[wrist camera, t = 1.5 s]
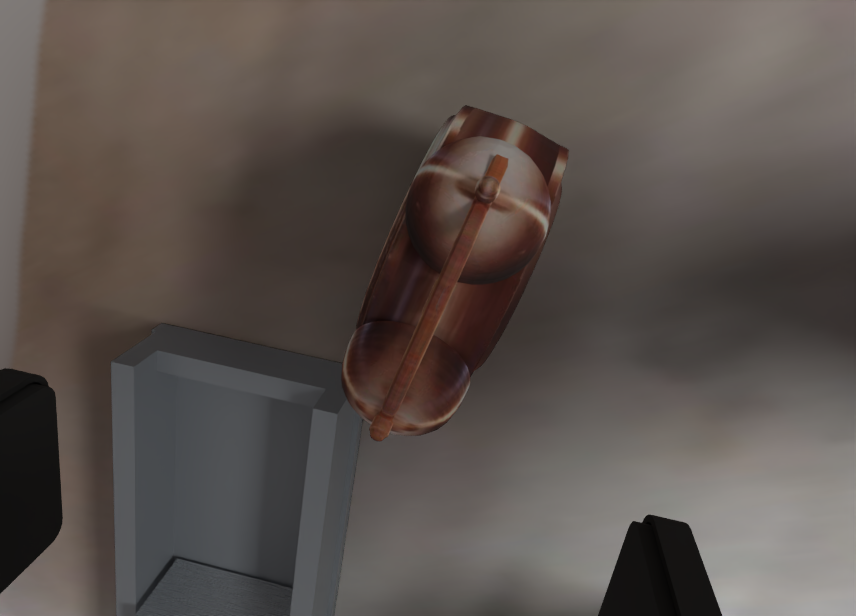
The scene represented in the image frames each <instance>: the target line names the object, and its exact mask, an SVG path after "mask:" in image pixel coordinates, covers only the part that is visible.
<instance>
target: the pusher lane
mask: <svg viewBox="0 0 856 616" xmlns="http://www.w3.org/2000/svg"><path fill="white" fill-rule="evenodd" d="M341 373H342V363H338V362H333V361H329V360H324V359H320V358H315V357H311V356H306V355H302V354H297V353H293V352H289V351H284V350H280V349H275V348H271V347H266V346H262V345H257V344H253V343H248V342H244V341H239V340H235V339H231V338H226V337H222V336H217V335H213V334H208V333H204V332H199V331H195V330H190V329H186V328H181V327H177V326H173V325H168V324H164V323H161V324H160V325H158V326H157V327H155V328H154V329H152V335H150V336H149V337H147V338H146V339H144V340H143V341H141V342H140V343H138V344H137V345H135V346H134V347H132V348H131V349H129V350H128V351H126V352H125V353H123V354H122V355H120V356H119V357H117V358H116V359H114V360H113V361H111V390H112V436H113V482H114V528H115V574H116V616H135V614H136V613H137V612H138V610H139V609H140V608H141V606H142V605H143V604H144V602H145V601H146V600H147V598H148V597H149V596H150V594H151V593H152V592H153V590H154V589H155V588H156V586H157V585H158V584H159V582H160V581H161V580H162V578H163V577H164V576H165V574H166V573H167V572H168V570H169V569H170V568H171V566H172V565H173V564H174V562H175V561H176V559H177V558H178V559H182V560H186V561H190V562H194V563H198V564H202V565H205V566H209V567H213V568H217V569H221V570H225V571H229V572H232V573H236V574H240V575H244V576H248V577H252V578H255V579H259V580H263V581H267V582H271V583H275V584H279V585H282V586H286V587H290V588H293V592H292V601H291V610H290V616H334V613H335V606H336V600H337V593H338V586H339V579H340V572H341V565H342V558H343V551H344V545H345V538H346V531H347V524H348V517H349V510H350V503H351V497H352V490H353V483H354V476H355V469H356V462H357V455H358V449H359V442H360V435H361V428H362V421H363V418H361V417H360V416H359V414H358V413H357V412H356V411H355V410H354V409H353V408H352V407H351V405H350V404H349V402H348V400H347V398H346V396H345V393H344V391H343V388H342V382H341Z"/></svg>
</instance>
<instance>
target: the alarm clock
mask: <svg viewBox="0 0 856 616" xmlns="http://www.w3.org/2000/svg"><path fill="white" fill-rule="evenodd" d="M568 153H569V150H568V149H567V148H565V147H563V146H560V145H558V144H556V143H555V142H553V141H551V140H550V139H548V138H546V137H545V136H543V135H541V134H540V133H538V132H536V131H535V130H533V129H531V128H530V127H528V126H526V125H523V124H521V123H519V122H516V121H514V120H511V119H508V118H505V117H502V116H499V115H496V114H493V113H489V112H486V111H483V110H480V109H477V108H474V107H470V106H467V105H465V106H464V107H462V109H461V110H460V111H459V112H458V114H457V115H453V116H451V117H450V118H448V119H447V121H446V122H445V123H444V125H443V126H442V127H441V129H440V131H439V132H438V134H437V136H436V137H435V139H434V141H433V142H432V144H431V146H430V148H429V150H428V152H427V154H426V155H425V157H424V159H423V161H422V163H421V165H420V167H419V169H418V171H417V173H416V175H415V177H414V179H413V181H412V183H411V186H410V188H409V190H408V192H407V194H406V196H405V198H404V201H403V203H402V205H401V207H400V209H399V212H398V214H397V216H396V219H395V221H394V223H393V225H392V228H391V230H390V232H389V235H388V237H387V240H386V242H385V244H384V247H383V249H382V252H381V254H380V257H379V259H378V261H377V264H376V267H375V269H374V272H373V275H372V277H371V280H370V283H369V285H368V288H367V291H366V294H365V297H364V300H363V303H362V306H361V310H360V313H359V317H358V321H357V325H356V331H355V332H354V333H353V335H352V337H351V339H350V341H349V344H348V346H347V349H346V352H345V356H344V360H343V364H342V373H341V382H342V388H343V391H344V393H345V396H346V398H347V400H348V402H349V404H350V405H351V407H352V408H353V409H354V410H355V411H356V412H357V413H358V414H359V416H360V417H361V418H363V419H364V420H365V421H366V422H368V423H369V424H371V426H370V428H369V430H370V436H371V438H372V439H374V440H376V441H382V440H383V439H384V438H386V437H388V435H389V433H392V434H396V435H403V436H417V435H423V434H426V433H429V432H432V431H435V430H437V429H439V428H440V427H441V426H443V425H444V424H445V423H447V421H448V420H449V419H450V418H451V417H452V415H453V414H454V413H455V412H456V410H457V409H458V408H459V406H460V405H461V403H462V401H463V399H464V397H465V395H466V393H467V390H468V388H469V386H470V377H471V375H472V373H473V372H474V371H475V370H476V369H478V368H479V367H480V366H481V365H482V364H483V363H484V362H485V361H486V359H487V358H488V356H489V355H490V354H491V352H492V350H493V349H494V347H495V345H496V344H497V342H498V340H499V338H500V337H501V335H502V333H503V331H504V330H505V328H506V326H507V324H508V322H509V320H510V318H511V316H512V314H513V312H514V310H515V308H516V306H517V304H518V302H519V300H520V298H521V296H522V294H523V292H524V290H525V288H526V285H527V283H528V281H529V279H530V277H531V275H532V272H533V270H534V268H535V266H536V263H537V261H538V259H539V257H540V254H541V252H542V249H543V247H544V244H545V242H546V239H547V237H548V234H549V232H550V229H551V227H552V224H553V221H554V218H555V215H556V212H557V209H558V206H559V202H560V198H561V192H562V186H561V181H562V178H563V174H564V171H565V168H566V164H567V160H568Z"/></svg>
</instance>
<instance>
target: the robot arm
mask: <svg viewBox="0 0 856 616" xmlns="http://www.w3.org/2000/svg"><path fill="white" fill-rule="evenodd" d="M62 519H63V517H62V500H61V482H60V465H59V448H58V431H57V413H56V397H55V392H54V390H53V389H52V388H50V387H49V386H48V382H47V381H46V379H45V378H44V377H42V376H40V375H36V374H31V373H27V372H22V371H18V370H14V369H2V370H0V593H1V592H3V591H4V590H5V589H6V588H7V587H8V586H9V585H10V584H11V583H12V582H13V581H14V580H15V579H16V578H17V577H18V576H19V575H20V574H21V573H22V572H23V571H24V570H25V569H26V568H27V567H28V566H29V565H30V564H31V563H32V562H33V561H34V560H35V559H36V558H37V557H38V556H39V555H40V554H41V553H42V552H43V551H44V550H45V549H46V548H47V547H48V546H49V545H50V544H51V543H52V542H53V541H54V540H55V538H56V537H57V535H58V533H59V531H60V529H61V525H62ZM598 616H722V614H721V611H720V608H719V606H718V603H717V600H716V597H715V595H714V592H713V589H712V586H711V583H710V581H709V578H708V575H707V572H706V570H705V567H704V564H703V561H702V559H701V556H700V553H699V550H698V548H697V545H696V542H695V539H694V536H693V534H692V531H691V529H690V527H689V525H688V524H686V523H684V522H680V521H676V520H671V519H667V518H662V517H658V516H654V515H647V516H646V517H645V518H644V520H643V522H642V523H640V522H636V521H633V522H632V523H631V524H630V526H629V529H628V531H627V534H626V537H625V540H624V543H623V546H622V549H621V551H620V554H619V557H618V560H617V563H616V566H615V569H614V571H613V574H612V577H611V580H610V583H609V586H608V589H607V592H606V594H605V597H604V600H603V603H602V606H601V609H600V612H599V615H598Z"/></svg>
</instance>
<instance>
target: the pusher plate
mask: <svg viewBox="0 0 856 616" xmlns="http://www.w3.org/2000/svg"><path fill="white" fill-rule="evenodd" d="M292 592H293V588H290V587H286V586H282V585H279V584H275V583H271V582H267V581H263V580H259V579H255V578H252V577H248V576H244V575H240V574H236V573H232V572H229V571H225V570H221V569H217V568H213V567H209V566H205V565H202V564H198V563H194V562H190V561H186V560H182V559H178V558H177V559H176V561H175V562H174V564H173V565H172V566H171V568H170V569H169V570H168V572H167V573H166V574H165V576H164V577H163V578H162V580H161V581H160V582H159V584H158V585H157V586H156V588H155V589H154V590H153V592H152V593H151V594H150V596H149V597H148V598H147V600H146V601H145V602H144V604H143V605H142V606H141V608H140V609H139V610H138V612H137V613H136V614H135V616H290V610H291V601H292Z"/></svg>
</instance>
